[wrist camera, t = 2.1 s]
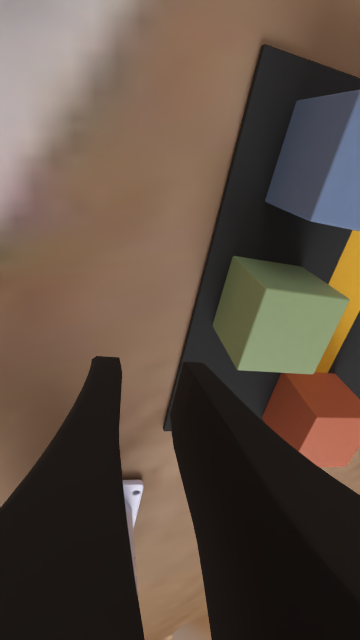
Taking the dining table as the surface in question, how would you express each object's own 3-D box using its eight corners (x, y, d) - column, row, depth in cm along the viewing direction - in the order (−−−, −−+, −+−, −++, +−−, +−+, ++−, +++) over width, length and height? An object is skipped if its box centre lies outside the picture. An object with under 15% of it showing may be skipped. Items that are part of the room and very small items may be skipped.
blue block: (336, 217, 17) (398, 239, 13) (263, 201, 16) (310, 221, 12) (374, 124, 15) (458, 122, 11) (295, 99, 14) (361, 87, 10)
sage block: (276, 331, 20) (313, 375, 16) (211, 325, 19) (236, 370, 15) (302, 266, 18) (351, 299, 14) (232, 255, 17) (266, 287, 13)
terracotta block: (311, 417, 24) (346, 466, 21) (261, 417, 23) (289, 468, 20) (335, 373, 23) (378, 418, 19) (282, 370, 21) (317, 417, 18)
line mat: (373, 428, 27) (376, 431, 27) (163, 428, 22) (163, 431, 22) (555, 150, 18) (562, 150, 18) (261, 45, 13) (264, 43, 13)
